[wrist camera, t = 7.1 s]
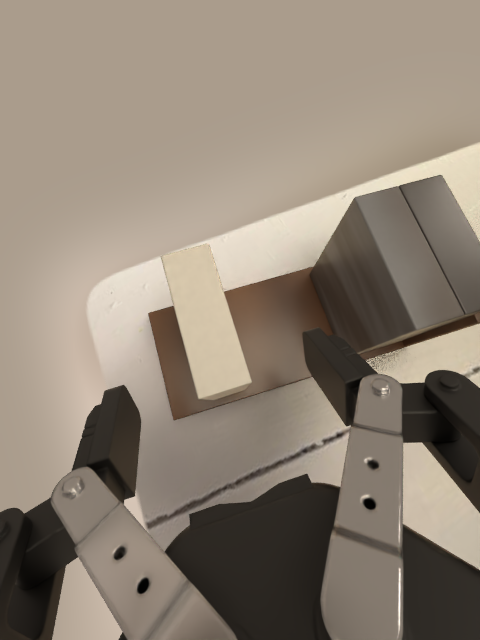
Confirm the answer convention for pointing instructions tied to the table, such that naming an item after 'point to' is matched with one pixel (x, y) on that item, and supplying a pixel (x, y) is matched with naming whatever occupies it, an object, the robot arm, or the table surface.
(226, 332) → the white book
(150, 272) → the table surface
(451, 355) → the table surface
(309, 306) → the brown wooden bookend
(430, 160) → the table surface
